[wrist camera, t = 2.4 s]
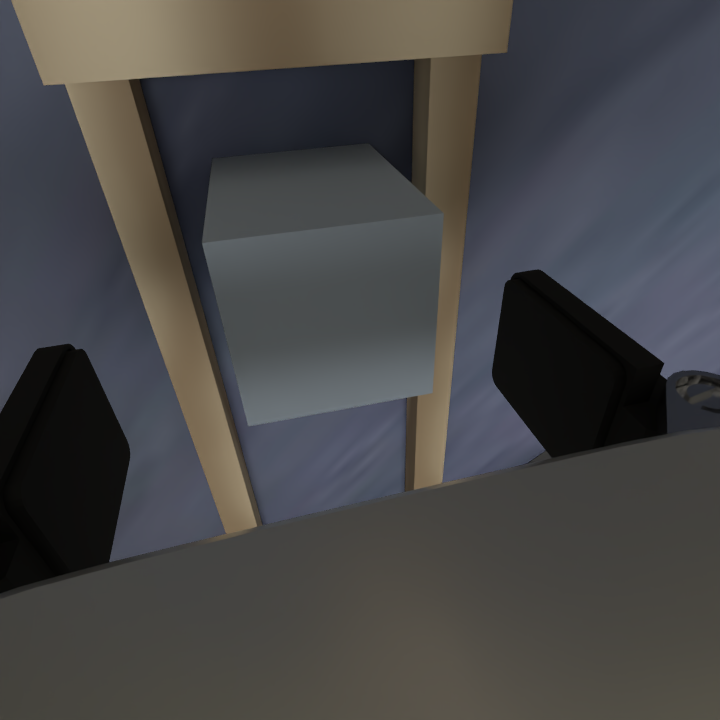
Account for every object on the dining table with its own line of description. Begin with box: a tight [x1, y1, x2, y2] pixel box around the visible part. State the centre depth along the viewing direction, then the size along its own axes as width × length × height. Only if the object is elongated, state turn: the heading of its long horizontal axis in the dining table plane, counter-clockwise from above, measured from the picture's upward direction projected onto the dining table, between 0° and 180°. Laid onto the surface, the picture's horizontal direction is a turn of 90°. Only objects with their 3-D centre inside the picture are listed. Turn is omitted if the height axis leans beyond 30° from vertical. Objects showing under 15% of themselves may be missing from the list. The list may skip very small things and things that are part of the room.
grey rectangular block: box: [202, 143, 444, 426], centre depth 14 cm, size 5×5×7 cm
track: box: [11, 0, 513, 534], centre depth 19 cm, size 11×28×5 cm, turn 2°
